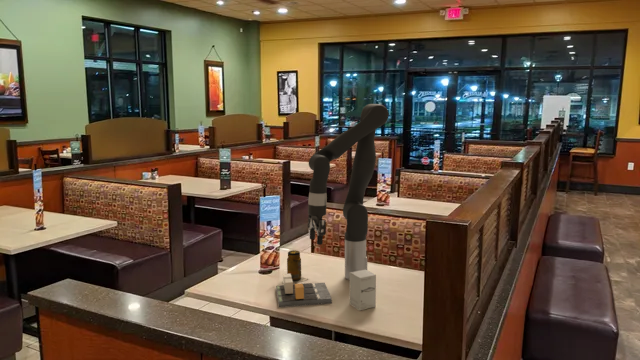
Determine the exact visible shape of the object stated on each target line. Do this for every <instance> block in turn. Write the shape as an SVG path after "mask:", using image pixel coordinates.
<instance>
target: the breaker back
mask: <svg viewBox="0 0 640 360" xmlns="http://www.w3.org/2000/svg"><path fill="white" fill-rule="evenodd" d="M282 275H283V277H282V280H283V281H282V283H283V284H282V285H284V279H292V277H291V273H290V274H287V273H283V274H282ZM284 288H285V286H284Z"/></svg>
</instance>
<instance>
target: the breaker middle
mask: <svg viewBox="0 0 640 360" xmlns="http://www.w3.org/2000/svg"><path fill="white" fill-rule="evenodd" d="M293 284H294V283H293V281H292V279H284V286H285V294H290V293H293Z"/></svg>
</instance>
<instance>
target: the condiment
mask: <svg viewBox="0 0 640 360" xmlns="http://www.w3.org/2000/svg"><path fill="white" fill-rule="evenodd" d="M286 265H287V266H286V267H287V269H286V274H290V273H291V277H292V281H293V284H298V283H302V282H303V281H307V280H308V278H306V277H304V276H302V257H301V252H300V251H299V250H289V251H288V252H287V259H286Z"/></svg>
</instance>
